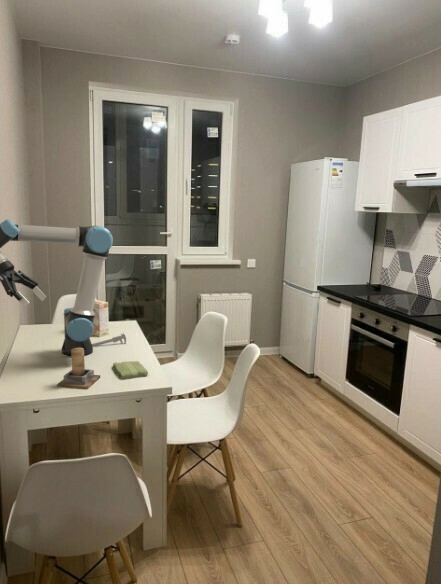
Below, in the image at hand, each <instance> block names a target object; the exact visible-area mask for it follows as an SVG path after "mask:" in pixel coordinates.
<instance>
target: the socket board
mask: <svg viewBox="0 0 441 584" xmlns="http://www.w3.org/2000/svg"><path fill="white" fill-rule="evenodd" d="M100 378H101V374H95V371H94V369H89V368H87V369H86V368H85V375H84V376H73V375H72V369H71V370H70V371H68V372H67V373H65V374H63V379H62V380H61V381H59V382H58V383H57V384H56V387H58V388H69V389H79V390H88V389H89V388H91V387H92V386H93V385H94V384H95V383H96V382H97V381H98V380H100Z"/></svg>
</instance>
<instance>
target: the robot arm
mask: <svg viewBox="0 0 441 584" xmlns="http://www.w3.org/2000/svg"><path fill="white" fill-rule="evenodd" d="M11 241H12V242H29V243H30V242H31V243H32V242H34V243H49V244H66V245H67V244H69V245H76V246H77V247H80V248H81V247H82V252H81V253H82V254H83V256H84V259H83V263H82V268H81V272H80V276H79V282H78V287H77V290H76V295H75V300H74V305H73V307H67V308H66V307H65V308H64V309H63V323H64V324H63V325H64V339H63V343H62V347H61V350H60V351H61V354H62V355H63V356H66V357H71V349H74V348H84V357H85V356H88V355H91V354H92V353H93V352H94V347H93V346H92V344H93V343H92V341H91V337H92V336H93V335H92V334H93V331H94V327H93V323H94V318H95V313H94V311H93V307H94V302H95V300H96V298H97V293H98V288H99V283H100V278H101V273H102V269H103V265H104V261H105V260H107V259H108V257H109V253H110V249H111V248H112V247H113V243H114V238H113V234H112V233H111V231H109V229H108V228H106V227H104V226H101V225H91V226H76V227H75V228H74V227H62V226H61V227H59V226H45V225H30V224H29V225H28V224H15V223H14V222H13V221H11V220H10V219H9V218H8V219H5V220H3V221H2V222H0V249H1V248H3V247H4V246H5V245H6V244H8V243H9V242H11ZM0 283H1V286H2V287H3V289H4V290H5V293H6V295H7V296H9V297H11V298H13V297H14V298H15V299H16V300H17V301H18V302H19V304H21V305H22V306H23V308H27V307H28V305H30V303H31V302H30V301H29V300H28V298H26V297H25V296H24V295H23V294H22V293H21V292H20V290H19V291H18V290H17V286H16V284H21V285H23V286H25V287H27V288H29V289H30V290H31V292H33V294H35V295H36V296H37V298H38V299H39V300H41V302H43V301H45V300H46V298H47V297H48V296H46V294H45V293H44V292H43V291H42V290H41V289H40V288H39V287H38V285H39V283H38V282H37V281H35V280H34V279H33V278H31V277H29V276H28V275H26V274H25V273H24V272H23V271H22V270H17V271H16V270H15V265H14V264H13V263H12V262H11V261H10V260H8V258H7V257H6V255H4V254H3V253H2V252H1V251H0Z"/></svg>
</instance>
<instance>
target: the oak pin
mask: <svg viewBox="0 0 441 584" xmlns="http://www.w3.org/2000/svg"><path fill="white" fill-rule="evenodd" d="M70 359H71V370H72V375H73V376H84V375H85V369H86V368H85V367H86V366H85V356H84V348H74V349H71V358H70Z"/></svg>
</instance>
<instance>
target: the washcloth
mask: <svg viewBox="0 0 441 584" xmlns="http://www.w3.org/2000/svg"><path fill="white" fill-rule="evenodd" d="M111 367H112V370H113V371H114V373H116V374H117V376H118V377H119V378H120V379H121V380H124V379H125V380H126V379H133V378H138V377H139V378H140V377H141V376H142V377H146V376H148V374H149V372H148V370H147V369H146V368H145V367H144V366H143V365H142V363H141V362H140V361H137V360H134V361H133V360H132V361H130V360H128V361H121V362H113V364H112V366H111Z"/></svg>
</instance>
